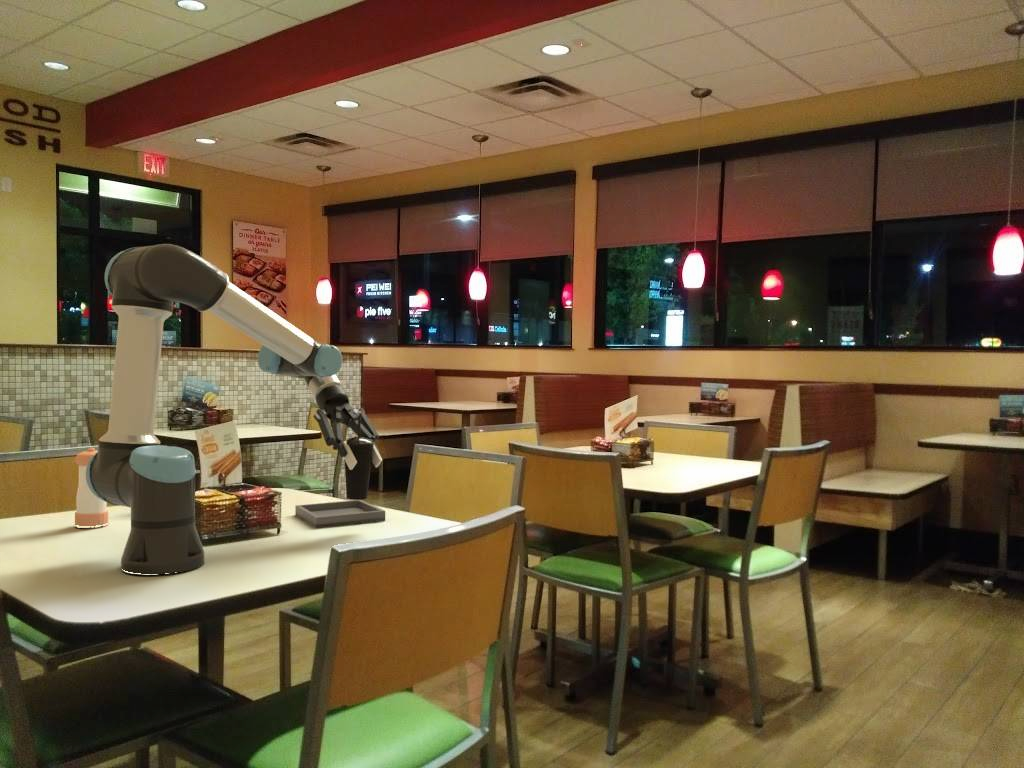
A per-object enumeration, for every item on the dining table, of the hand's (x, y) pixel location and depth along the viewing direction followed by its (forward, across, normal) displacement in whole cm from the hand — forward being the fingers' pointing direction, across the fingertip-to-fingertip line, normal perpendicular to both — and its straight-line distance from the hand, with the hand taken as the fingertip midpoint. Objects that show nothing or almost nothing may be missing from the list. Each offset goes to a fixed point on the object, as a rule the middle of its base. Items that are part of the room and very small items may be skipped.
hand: (366, 464), depth 186 cm
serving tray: (-2, -6, -25) cm, 26 cm away
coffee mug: (-31, +18, -54) cm, 65 cm away
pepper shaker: (-25, +43, -49) cm, 70 cm away
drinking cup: (+4, 0, -9) cm, 9 cm away
